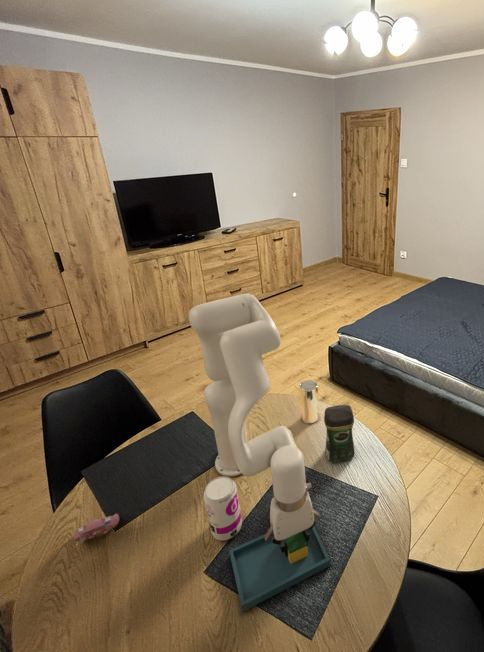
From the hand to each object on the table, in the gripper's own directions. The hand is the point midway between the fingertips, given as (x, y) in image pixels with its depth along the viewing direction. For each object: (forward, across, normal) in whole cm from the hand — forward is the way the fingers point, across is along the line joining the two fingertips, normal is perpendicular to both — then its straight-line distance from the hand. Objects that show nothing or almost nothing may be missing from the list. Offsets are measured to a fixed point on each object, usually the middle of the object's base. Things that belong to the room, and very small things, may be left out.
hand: (295, 546), depth 93 cm
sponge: (+1, 0, 0) cm, 1 cm away
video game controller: (+2, +46, -28) cm, 54 cm away
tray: (+2, +4, +1) cm, 5 cm away
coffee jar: (+2, -24, -24) cm, 34 cm away
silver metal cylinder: (+2, -22, -45) cm, 50 cm away
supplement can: (+2, +15, -14) cm, 21 cm away
